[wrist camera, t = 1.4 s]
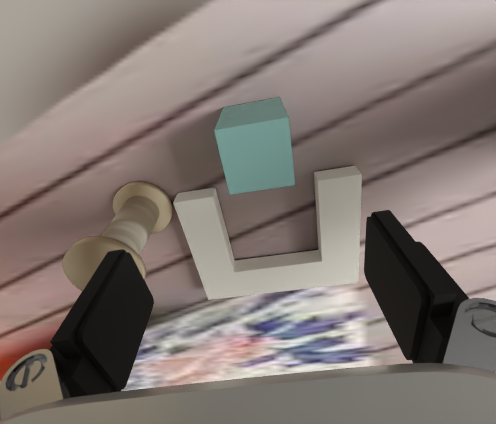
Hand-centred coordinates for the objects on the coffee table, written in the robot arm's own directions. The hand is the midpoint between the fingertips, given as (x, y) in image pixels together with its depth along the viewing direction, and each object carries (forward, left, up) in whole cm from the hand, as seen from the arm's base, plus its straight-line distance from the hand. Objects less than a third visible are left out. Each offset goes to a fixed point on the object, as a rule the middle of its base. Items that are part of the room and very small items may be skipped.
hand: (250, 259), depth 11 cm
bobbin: (+13, +6, -18) cm, 22 cm away
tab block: (0, 0, -18) cm, 18 cm away
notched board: (0, +12, -18) cm, 21 cm away
